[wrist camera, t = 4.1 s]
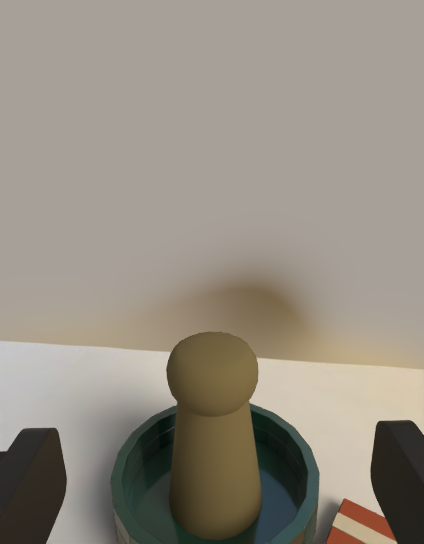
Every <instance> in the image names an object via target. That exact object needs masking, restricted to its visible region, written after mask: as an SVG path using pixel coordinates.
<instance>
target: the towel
mask: <svg viewBox="0 0 424 544" xmlns="http://www.w3.org/2000/svg"><path fill="white" fill-rule="evenodd" d="M325 544H397V542H396V539H395V537H394V535H393V533H392V531H391V529H390V527H389V525H388V522H387V520H386V518H385V517H382V516H380V515H378V514H376V513H374V512H372V511H370V510H368V509H366V508H364V507H362V506H360V505H358V504H356V503H353V502H351V501H349V500H347V499H345V498H344V499H343V502H342V504H341V507H340V509H339V511H338V512H337V515H336V517H335V519H334V522H333V524H332V528H331V531H330V533H329V535H328V538H327V540H326V543H325Z"/></svg>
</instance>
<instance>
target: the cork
mask: <svg viewBox="0 0 424 544" xmlns="http://www.w3.org/2000/svg"><path fill="white" fill-rule="evenodd" d="M166 371H167V380H168V385H169V388H170V391H171V393H172V396H173V397H174V398H175V399H176V400H177V402H178V403H177V414H176V424H175V435H174V446H173V456H172V467H171V478H170V489H169V504H170V511H171V513H172V515H173V516H174V518H175V520H176V522H177V523H178V524H179V525H180V526H181V527H182V528H183V529H185V530H186V531H187V532H188V533H190V534H192V535H195V536H197V537H200V538H203V539H213V540H222V539H226V538H230V537H234V536H237V535H238V534H240V533H241V532H243V531H245V530H246V529H248V528H249V527H250V526H251V525H252V523H253V522H254V521H255V520H256V518H257V517H258V515H259V512H260V509H261V506H262V489H261V482H260V475H259V468H258V461H257V454H256V447H255V440H254V433H253V426H252V419H251V412H250V405H249V399H250V398H251V397H252V395H253V393H254V391H255V388H256V385H257V382H258V363H257V359H256V356H255V354H254V352H253V351H252V349H251V348H250V347H249V345H248V344H247V342H245V341H244V340H242V339H241V338H239V337H236V336H233V335H231V334H228V333H222V332H204V333H199V334H195V335H192V336H190V337H187V338H185V339H184V340H182V341H180V342H179V343H178V344H177V345H176V346H175V348H174V349H173V351H172V352H171V354H170V357H169V360H168V364H167V369H166Z"/></svg>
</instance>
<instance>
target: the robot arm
mask: <svg viewBox="0 0 424 544" xmlns="http://www.w3.org/2000/svg"><path fill="white" fill-rule="evenodd" d="M371 482H372V487H373V491H374V494H375V496H376V499H377V501H378V503H379V505H380V507H381V510H382V512H383V514H384V516H385V518H386V520H387V522H388V525H389V527H390V529H391V531H392V533H393V535H394V537H395V539H396V542H397V544H424V435H423V434H422V432H421V431H420V430H419V428H418V427H417V426H416V424H415V423H414V422H413V421H411V420H398V421H379V422H378V423H377V425H376V431H375V438H374V446H373V454H372V462H371ZM66 484H67V477H66V470H65V465H64V460H63V454H62V449H61V443H60V438H59V433H58V431H57V429H56V428H26V429H23V430H22V431H21V432H20V433H19V434H18V436H17V437H16V439H15V440H14V442H13V443H12V445H11V446H10V448H9V449H8V451H4V452H0V544H46V542H47V540H48V537H49V535H50V533H51V530H52V528H53V525H54V523H55V521H56V518H57V516H58V513H59V511H60V508H61V506H62V503H63V500H64V497H65V492H66Z"/></svg>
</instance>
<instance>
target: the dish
mask: <svg viewBox="0 0 424 544" xmlns="http://www.w3.org/2000/svg"><path fill="white" fill-rule="evenodd" d="M249 405H250V412H251V419H252V426H253V433H254V440H255V447H256V454H257V461H258V468H259V475H260V482H261V489H262V506H261V509H260V512H259V515H258V517H257V518H256V520H255V521H254V522H253V523H252V525H251V526H250V527H249V528H248V529H246V530H245V531H243V532H241V533H240V534H238V535H237V536H234V537H230V538H226V539H222V540H213V539H203V538H200V537H197V536H195V535H192V534H190V533H188V532H187V531H186V530H185V529H183V528H182V527H181V526H180V525H179V524H178V523H177V522H176V520H175V518H174V516H173V515H172V513H171V511H170V504H169V489H170V478H171V467H172V456H173V446H174V435H175V424H176V414H177V405H176V406H173V407H171V408H169V409H167V410H165V411H163V412H160V413H158V414H156V415H154V416H152V417H151V418H150V419H148V420H147V421H146V422H145V423H143V424H142V425H141V426H140V427H139V428H137V429H136V430H135V431H134V432H133V433H132V434H131V435H130V437H129V438H128V439H127V441H126V442H125V444H124V445H123V447H122V448H121V450H120V451H119V452H118V455H117V458H116V461H115V465H114V468H113V472H112V476H111V481H110V483H111V492H112V501H113V509H114V516H115V523H116V531H117V538H118V542H119V544H312V542H313V538H314V536H315V532H316V522H317V510H318V498H319V476H320V474H319V470H318V467H317V464H316V461H315V458H314V456H313V453H312V450H311V448H310V446H309V445H308V444H307V443H306V441H305V440H304V439H303V438H302V436H301V435H300V434H299V433H298V431H297V430H296V429H295V428H294V427H293V426H292V425H290V424H289V423H288V422H286V421H285V420H283V419H282V418H281V417H279V416H278V415H276V414H275V413H273V412H271V411H268V410H266V409H263V408H261V407H258V406H256V405H253V404H250V403H249Z"/></svg>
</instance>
